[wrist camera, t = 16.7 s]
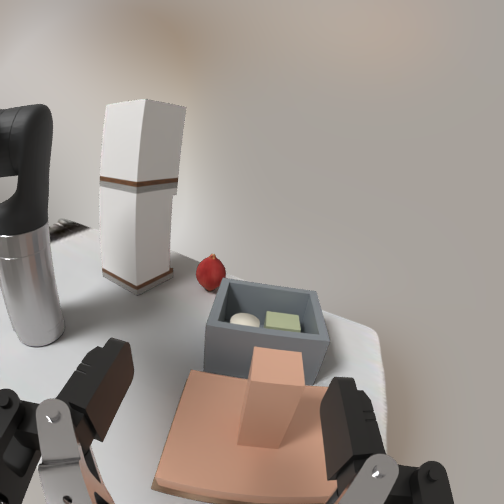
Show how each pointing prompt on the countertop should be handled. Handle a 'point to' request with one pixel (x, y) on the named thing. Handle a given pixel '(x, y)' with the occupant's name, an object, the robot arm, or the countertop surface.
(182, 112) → the white tall block
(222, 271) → the pomegranate
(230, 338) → the storage box
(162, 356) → the countertop surface
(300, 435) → the lid
